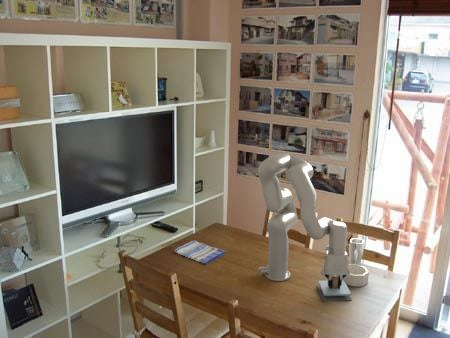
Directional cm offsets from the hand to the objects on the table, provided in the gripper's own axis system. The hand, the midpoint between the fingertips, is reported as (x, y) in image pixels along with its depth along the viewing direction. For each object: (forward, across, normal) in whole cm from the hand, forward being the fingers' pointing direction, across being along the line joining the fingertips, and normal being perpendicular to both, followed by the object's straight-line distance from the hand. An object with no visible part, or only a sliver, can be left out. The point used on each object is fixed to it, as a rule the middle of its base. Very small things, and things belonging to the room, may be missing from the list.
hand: (334, 286), depth 211 cm
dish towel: (+4, -63, +42) cm, 76 cm away
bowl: (+3, +12, +11) cm, 17 cm away
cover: (+1, 0, 0) cm, 1 cm away
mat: (+3, 0, 0) cm, 3 cm away
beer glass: (+4, +16, +24) cm, 29 cm away
